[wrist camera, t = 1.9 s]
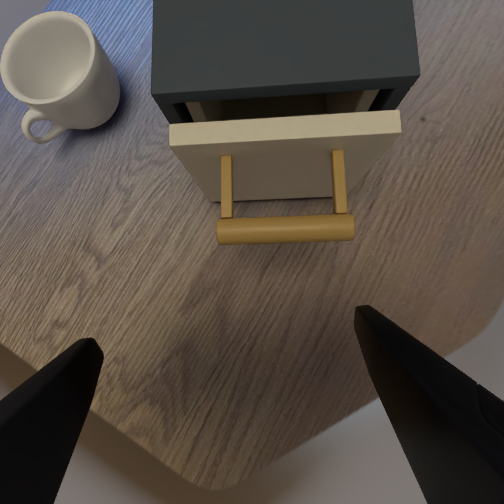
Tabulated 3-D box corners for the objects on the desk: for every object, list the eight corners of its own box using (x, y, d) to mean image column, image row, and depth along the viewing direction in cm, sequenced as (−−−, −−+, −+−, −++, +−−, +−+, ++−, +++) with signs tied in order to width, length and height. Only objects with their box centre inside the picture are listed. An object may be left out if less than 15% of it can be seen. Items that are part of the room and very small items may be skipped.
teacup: (80, 55, 26) (32, -3, 21) (146, 83, 26) (114, 30, 20) (29, 143, 26) (-35, 105, 20) (95, 175, 25) (47, 145, 19)
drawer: (351, 255, 21) (411, 233, 12) (210, 259, 22) (167, 241, 13) (337, 58, 24) (381, -87, 14) (209, 68, 24) (172, -64, 15)
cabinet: (349, 174, 23) (420, 74, 12) (205, 181, 24) (150, 94, 13) (339, 33, 25) (395, -166, 14) (205, 44, 26) (156, -136, 15)
